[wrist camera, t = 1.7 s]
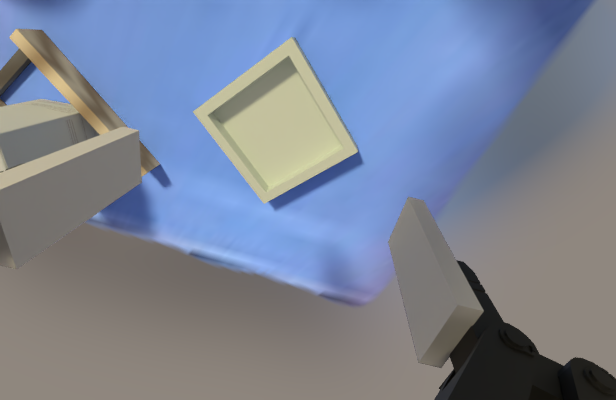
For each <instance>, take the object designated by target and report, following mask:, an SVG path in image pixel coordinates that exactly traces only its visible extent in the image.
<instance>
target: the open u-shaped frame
mask: <svg viewBox="0 0 616 400" xmlns="http://www.w3.org/2000/svg"><path fill="white" fill-rule="evenodd" d="M9 38H10V39H11V40H12V41H13V42H14V43H15V44H16V45H17V46H18V47H19V49H18V51H17V52H16V53H15V54H14V55H13V56H12V58H11V59H10V60H9V61H8V62H7V63H6V65H5V66H4V67H3V68H2V69H1V71H0V96H1V95H2V94H3V92H4V91H5V90H6V89H7V88H8V87H9V86H10V85H11V84H12V82H13V81H14V80H15V79H16V78H17V77H18V76H19V75H20V74H21V72H22V71H23V70H24V69H25V68H26V67H27V66H28V65H29V64H30V62H31V61H32V62H33V63H34V65H35V66H36V67H37V68H38V69H39V70H40V71H41V72H42V73H43V74H44V75H45V76H46V77H47V79H48V80H49V81H50V82H51V83H52V84H53V85H54V86H55V87H56V88H57V89H58V90H59V91H60V92H61V94H62V95H63V96H64V97H65V98H66V99H67V100H68V101H69V102H70V103H71V104H72V105H73V106H74V108H75V109H76V110H77V111H78V112H79V113H80V114H81V115H82V116H83V117H84V118H85V119H86V120H87V121H88V123H89V124H90V125H91V126H92V127H93V128H94V129H95V130H96V131H97V132H98V133H99V134H100V135H102V134H104V133H107V132H110V131H112V130H115V129H118V128H120V127H127V126H126V125H125V124H124V123H123V121H122V120H121V119H120V118H119V117H118V116H117V115H116V113H115V112H114V111H113V110H112V109H111V108H110V107H109V106H108V104H107V103H106V102H105V101H104V100H103V99H102V98H101V96H100V95H99V94H98V93H97V92H96V91H95V90H94V89H93V87H92V86H91V85H90V84H89V83H88V82H87V81H86V79H85V78H84V77H83V76H82V75H81V74H80V73H79V72H78V70H77V69H76V68H75V67H74V66H73V65H72V64H71V62H70V61H69V60H68V59H67V58H66V57H65V56H64V55H63V53H62V52H61V51H60V50H59V49H58V48H57V47H56V45H55V44H54V43H53V42H52V41H51V40H50V39H49V38H48V36H47V35H46V34H45V33H44V32H43V31H42V30H33V29H16V30H15V31H14V32H13V34H12V35H11V36H10V37H9ZM3 106H7V105H6V104H5V103H4V102H3V101H2V100H1V99H0V107H3ZM127 128H128V127H127ZM139 142H140V141H139ZM140 159H141V176H143V175H145V174H146V173H148V172H149V171H151V170H152V169H154V168H155V167H157V166H158V165H159V164H160V163H159V162H158V161H157V160H156V159H155V158H154V157H153V155H152V154H151V153H150V152H149V151H148V150H147V149H146V147H145V146H144V145H143V144H142V143H141V142H140Z"/></svg>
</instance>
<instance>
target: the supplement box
mask: <svg viewBox="0 0 616 400" xmlns="http://www.w3.org/2000/svg"><path fill="white" fill-rule="evenodd" d="M99 135H100V134H99V133H98V132H97V131H96V130H95V129H94V128H93V127H92V126H91V125H90V124H89V123H88V121H87V120H86V119H85V118H84V117H83V116H82V115H81V114H80V113H79V112H78V111H77V110H76V109H75V108H74V106H73V105H72V104H68V103H62V102H57V101H51V100H45V99H38V100H33V101H28V102H23V103H18V104H13V105H8V106H3V107H0V171H5V170H6V169H8V168H11V167H14V166H17V165H19V164H23V163H27V162H30V161H33V160H35V159H38V158H41V157H43V156H46V155H49V154H51V153H54V152H57V151H59V150H62V149H64V148H67V147H70V146H72V145H75V144H78V143H80V142H83V141H86V140H88V139H91V138H94V137H96V136H99Z"/></svg>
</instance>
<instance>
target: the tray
mask: <svg viewBox="0 0 616 400" xmlns="http://www.w3.org/2000/svg"><path fill="white" fill-rule="evenodd" d="M193 113H194V114H195V115H196V116H197V118H198V119H199V120H200V122H201V123H202V124H203V126H204V127H205V128H206V129H207V131H208V132H209V133H210V135H211V136H212V137H213V138H214V140H215V141H216V142H217V144H218V145H219V146H220V148H221V149H222V150H223V151H224V153H225V154H226V155H227V157H228V158H229V159H230V160H231V162H232V163H233V164H234V166H235V167H236V168H237V169H238V171H239V172H240V173H241V175H242V176H243V177H244V179H245V180H246V181H247V182H248V184H249V185H250V186H251V188H252V189H253V190H254V191H255V193H256V194H257V195H258V197H259V198H260V199H261V200H262V202H263V203H264V204H265V203H266V202H268V201H270V200H272V199H274V198H275V197H277V196H279V195H281V194H283V193H284V192H286V191H288V190H290V189H292V188H294V187H295V186H297V185H299V184H301V183H303V182H304V181H306V180H308V179H310V178H312V177H313V176H315V175H317V174H319V173H321V172H323V171H324V170H326V169H328V168H330V167H332V166H333V165H335V164H337V163H339V162H341V161H342V160H344V159H346V158H348V157H350V156H351V155H353V154H355V153H357V152H358V148H357V145H356V143H355V141H354V139H353V138H352V136H351V134H350V132H349V131H348V129H347V127H346V126H345V124H344V122H343V120H342V119H341V117H340V115H339V113H338V112H337V110H336V108H335V106H334V105H333V103H332V101H331V99H330V98H329V96H328V94H327V92H326V91H325V89H324V87H323V86H322V84H321V82H320V80H319V79H318V77H317V75H316V73H315V72H314V70H313V68H312V66H311V65H310V63H309V61H308V59H307V58H306V56H305V54H304V53H303V51H302V49H301V47H300V46H299V44H298V42H297V40H296V39H295V38H294V37H291V38H290V39H289V40H287V41H286V42H285V43H283V44H282V45H281V46H279V47H278V48H277V49H275V50H274V51H273V52H271V53H270V54H269V55H267V56H266V57H265V58H263V59H262V60H261V61H259V62H258V63H257V64H256V65H254V66H253V67H252V68H250V69H249V70H248V71H246V72H245V73H244V74H242V75H241V76H240V77H238V78H237V79H236V80H234V81H233V82H232V83H230V84H229V85H228V86H226V87H225V88H224V89H222V90H221V91H220V92H218V93H217V94H216V95H215V96H213V97H212V98H211V99H209V100H208V101H207V102H205V103H204V104H203V105H201V106H200V107H199V108H197V109H196V110H195V111H193Z"/></svg>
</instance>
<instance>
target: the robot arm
mask: <svg viewBox="0 0 616 400" xmlns="http://www.w3.org/2000/svg"><path fill="white" fill-rule="evenodd" d="M141 182H142V176H141V159H140V142H139V130H135V129H131V128H127V127H120V128H118V129H115V130H112V131H110V132H107V133H104V134H102V135H99V136H96V137H94V138H91V139H88V140H86V141H83V142H80V143H78V144H75V145H72V146H70V147H67V148H64V149H62V150H59V151H57V152H54V153H51V154H49V155H46V156H43V157H41V158H38V159H35V160H33V161H30V162H27V163H23V164H19V165H17V166H14V167H11V168H8V169H6V170H5V171H0V266H5V267H9V268H13V269H18V268H19V267H21V266H22V265H24V264H25V263H26V262H28V261H29V260H31V259H32V258H34V257H35V256H37V255H38V254H39V253H41V252H42V251H44V250H45V249H46V248H48V247H50V246H51V245H52V244H54V243H55V242H57V241H58V240H59V239H61V238H62V237H64V236H65V235H67V234H68V233H70V232H71V231H73V230H74V229H75V228H77V227H78V226H80V225H81V224H83V223H84V222H85V221H87V220H88V219H90V218H91V217H93V216H94V215H96V214H97V213H98V212H100V211H101V210H103V209H104V208H106V207H107V206H108V205H110V204H111V203H113V202H114V201H116V200H117V199H118V198H120V197H121V196H123V195H124V194H126V193H127V192H129V191H130V190H131V189H133V188H134V187H136V186H137V185H139V184H140V183H141ZM388 243H389V247H390V251H391V255H392V259H393V263H394V267H395V271H396V275H397V279H398V283H399V287H400V291H401V295H402V299H403V303H404V307H405V311H406V314H407V319H408V323H409V326H410V331H411V335H412V339H413V343H414V347H415V351H416V355H417V359H418V363H422V364H426V365H431V366H435V367H439V368H441V367H442V366H443V365H444V364H445V362H446V361H447V360H448V358H449V357H450V358H451V361H452V364H453V367H454V370H453V371H452V372H451V374H450V375H449V376H448V377H447V378H446V380H445V381H444V382H443V383H442V385H441V386H440V387H439V389H440V391H439V393H438V395H437V396H436V398H435V400H616V379H615V378H614V377H613V376H612V375H611V374H609V373H608V372H607V371H606V370H604V369H603V368H601V367H599V366H598V365H596V364H594V363H593V362H590V361H588V360H585V359H583V358H576V357H575V358H573V359H571V360H570V361H569V362H568V363H567V364H566V365H565V366H563V365H561V364H559V363H557V362H555V361H552V360H550V359H548V358H546V357H544V356H542V355H540V354H539V352H538V350H537V349H536V347H535V345H534V343H533V342H532V341H531V340H530V339H529V338H528V337H527V336H526V335H525V334H524V333H522V332H521V331H520V330H519V329H517V328H515V327H514V326H512V325H510V324H508V323H504V322H503V320H502V318H501V317H500V315H499V313H498V312H497V310H496V308H495V307H494V305H493V303H492V301H491V300H490V298H489V296H488V295H487V294H486V293H485V290H484V288H483V286H482V285H480V281H479V280H478V278H477V276H476V275H475V273H474V272H473V271H472V270H471V269H470V268H469V267H468V266H467V265H466V264H465V263H464V262H461V261H457V260H456V259H455V257H454V255H453V253H452V252H451V250H450V248H449V246H448V244H447V242H446V241H445V239H444V237H443V235H442V233H441V231H440V230H439V228H438V226H437V224H436V222H435V220H434V219H433V217H432V215H431V213H430V211H429V209H428V208H427V206H426V204H425V202H424V200H420V199H416V198H412V197H408V198H407V200H406V203H405V205H404V207H403V209H402V212H401V214H400V216H399V218H398V221H397V223H396V225H395V227H394V230H393V232H392V234H391V236H390V239H389V241H388Z"/></svg>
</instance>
